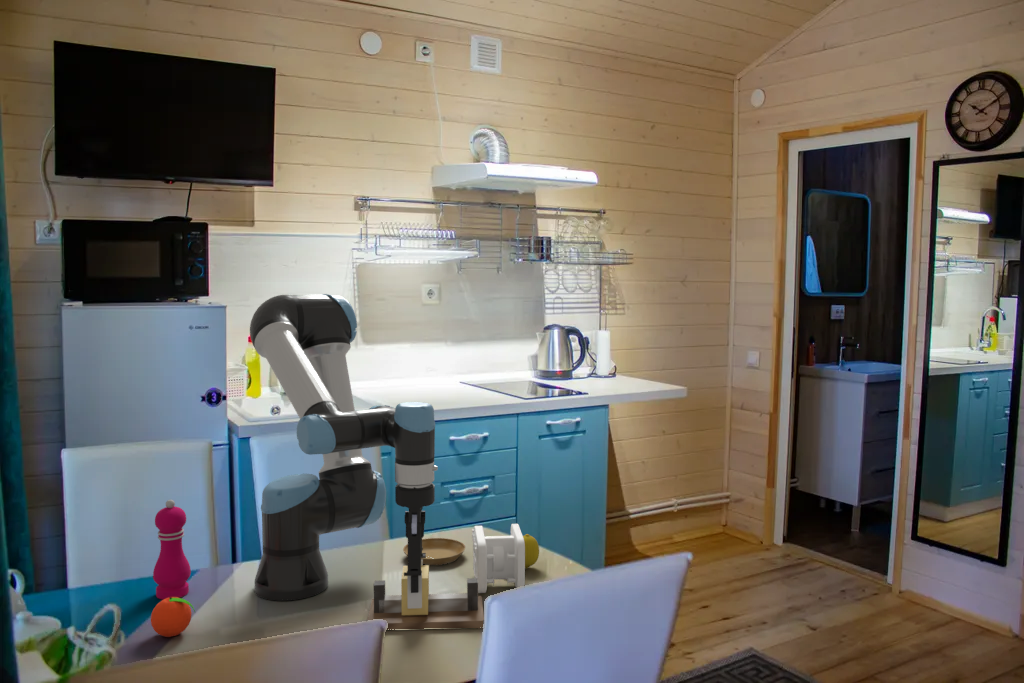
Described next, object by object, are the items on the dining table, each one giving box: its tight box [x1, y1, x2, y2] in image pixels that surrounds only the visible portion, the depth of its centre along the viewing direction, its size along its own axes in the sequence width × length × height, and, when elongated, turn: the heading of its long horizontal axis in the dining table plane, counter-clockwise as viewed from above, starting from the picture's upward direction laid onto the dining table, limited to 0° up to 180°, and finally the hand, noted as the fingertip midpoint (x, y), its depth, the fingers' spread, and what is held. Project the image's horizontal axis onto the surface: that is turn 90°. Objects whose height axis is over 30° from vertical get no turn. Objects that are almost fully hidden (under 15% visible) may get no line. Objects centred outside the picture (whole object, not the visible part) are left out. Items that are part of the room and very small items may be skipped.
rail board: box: [366, 577, 485, 630], centre depth 155 cm, size 22×12×7 cm, turn 95°
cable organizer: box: [471, 523, 526, 594], centre depth 172 cm, size 15×11×12 cm
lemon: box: [523, 533, 540, 569], centre depth 182 cm, size 6×6×8 cm
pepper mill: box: [152, 499, 192, 600], centre depth 165 cm, size 7×7×20 cm
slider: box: [400, 565, 430, 615], centre depth 155 cm, size 5×7×7 cm
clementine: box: [150, 597, 196, 638], centre depth 146 cm, size 8×7×7 cm
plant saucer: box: [402, 537, 466, 566], centre depth 189 cm, size 15×15×3 cm
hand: (415, 599), depth 155 cm, fingers closed on slider, 7 cm apart
